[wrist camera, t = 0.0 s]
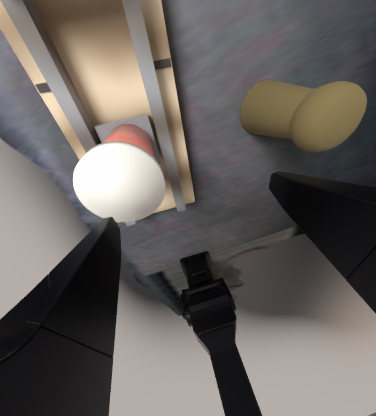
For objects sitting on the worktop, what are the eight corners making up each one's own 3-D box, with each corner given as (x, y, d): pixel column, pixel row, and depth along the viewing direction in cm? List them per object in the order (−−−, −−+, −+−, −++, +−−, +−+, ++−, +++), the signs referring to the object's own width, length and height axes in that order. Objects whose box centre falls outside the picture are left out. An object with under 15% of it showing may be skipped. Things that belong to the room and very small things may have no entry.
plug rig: (192, 195, 26) (202, 218, 22) (119, 214, 26) (113, 243, 21) (150, -40, 13) (154, -116, 8) (-13, -16, 12) (-116, -85, 7)
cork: (236, 92, 19) (312, 96, 11) (283, 69, 19) (401, 54, 10) (243, 141, 23) (303, 172, 14) (283, 122, 23) (368, 143, 14)
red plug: (160, 160, 20) (173, 210, 12) (118, 171, 19) (101, 230, 11) (147, 112, 16) (151, 135, 9) (95, 123, 16) (50, 159, 8)
